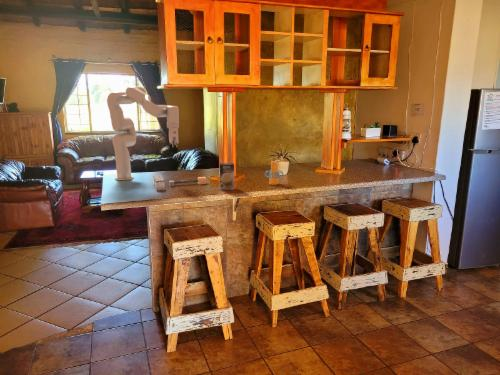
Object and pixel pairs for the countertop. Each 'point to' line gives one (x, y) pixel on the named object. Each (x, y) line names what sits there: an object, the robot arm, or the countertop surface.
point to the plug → (189, 181)
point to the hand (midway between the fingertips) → (173, 152)
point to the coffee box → (226, 176)
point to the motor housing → (158, 182)
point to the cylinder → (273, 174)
